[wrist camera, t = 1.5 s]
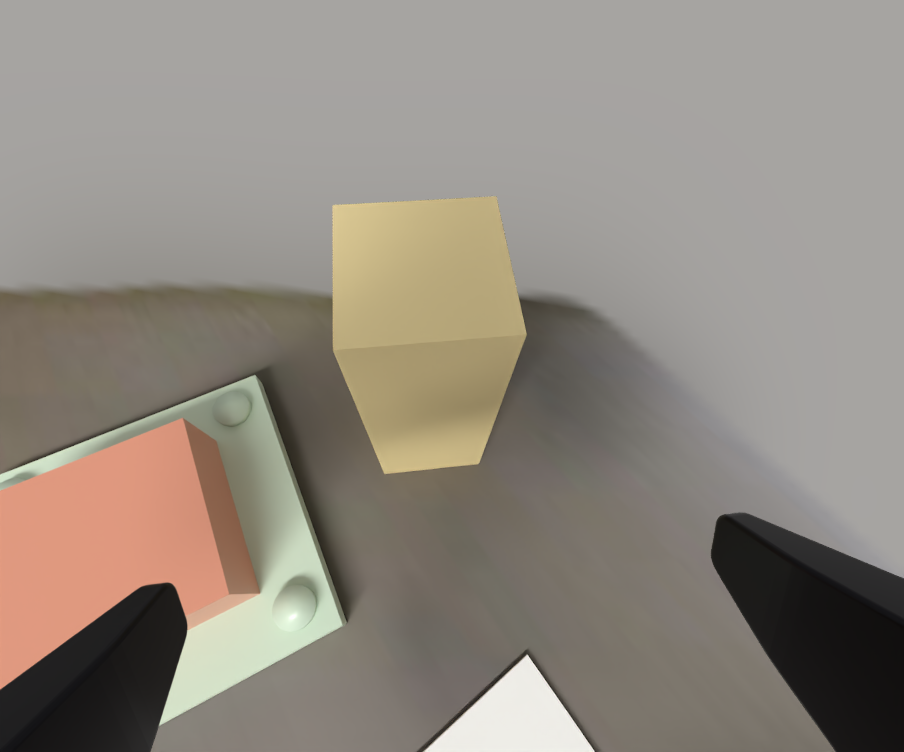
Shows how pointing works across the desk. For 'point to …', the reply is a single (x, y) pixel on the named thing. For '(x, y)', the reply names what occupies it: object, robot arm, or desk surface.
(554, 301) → the desk surface
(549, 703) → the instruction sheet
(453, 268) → the tall brick
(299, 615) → the baseplate
